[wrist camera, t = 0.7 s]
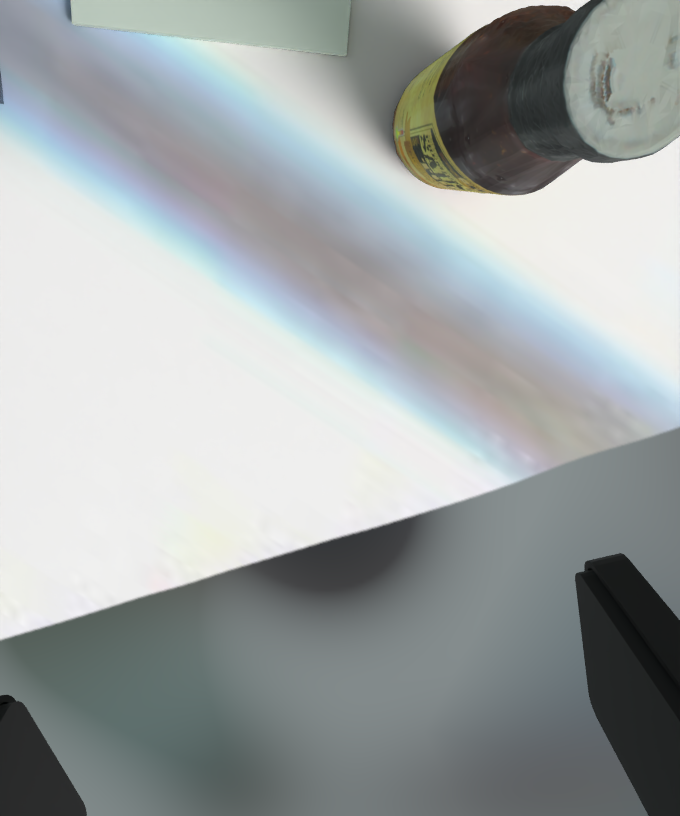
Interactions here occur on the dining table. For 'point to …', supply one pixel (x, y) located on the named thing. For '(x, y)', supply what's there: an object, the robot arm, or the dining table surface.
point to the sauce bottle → (544, 96)
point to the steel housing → (0, 93)
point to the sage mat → (228, 21)
